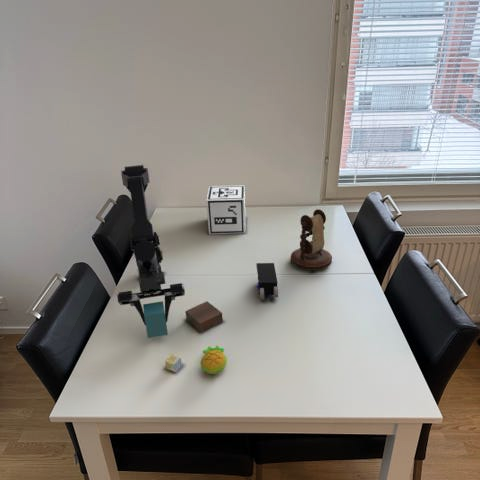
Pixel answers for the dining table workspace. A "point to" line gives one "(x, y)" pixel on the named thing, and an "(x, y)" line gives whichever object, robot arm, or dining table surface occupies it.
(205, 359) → the toy pineapple
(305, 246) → the brown upright piece
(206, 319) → the walnut base
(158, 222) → the dining table surface
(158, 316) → the teal block
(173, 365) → the alphabet block
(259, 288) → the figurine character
